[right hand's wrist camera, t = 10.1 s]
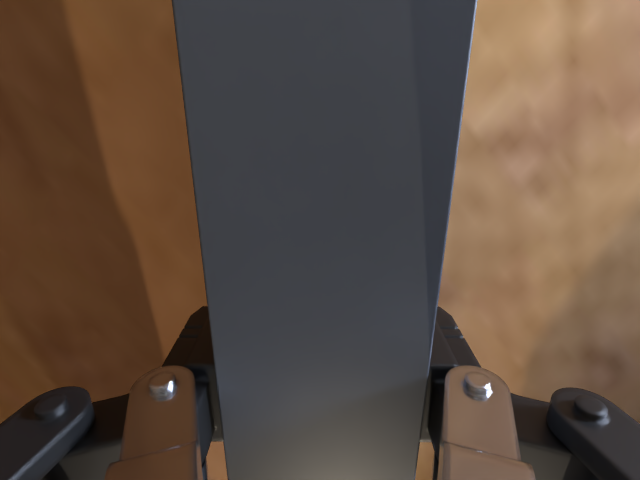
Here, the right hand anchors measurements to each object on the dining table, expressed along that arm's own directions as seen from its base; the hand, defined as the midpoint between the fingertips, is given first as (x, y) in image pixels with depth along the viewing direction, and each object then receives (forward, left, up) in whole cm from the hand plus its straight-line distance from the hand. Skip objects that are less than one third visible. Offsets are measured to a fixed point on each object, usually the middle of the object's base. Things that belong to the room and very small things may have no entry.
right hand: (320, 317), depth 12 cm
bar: (+20, -14, -5) cm, 25 cm away
